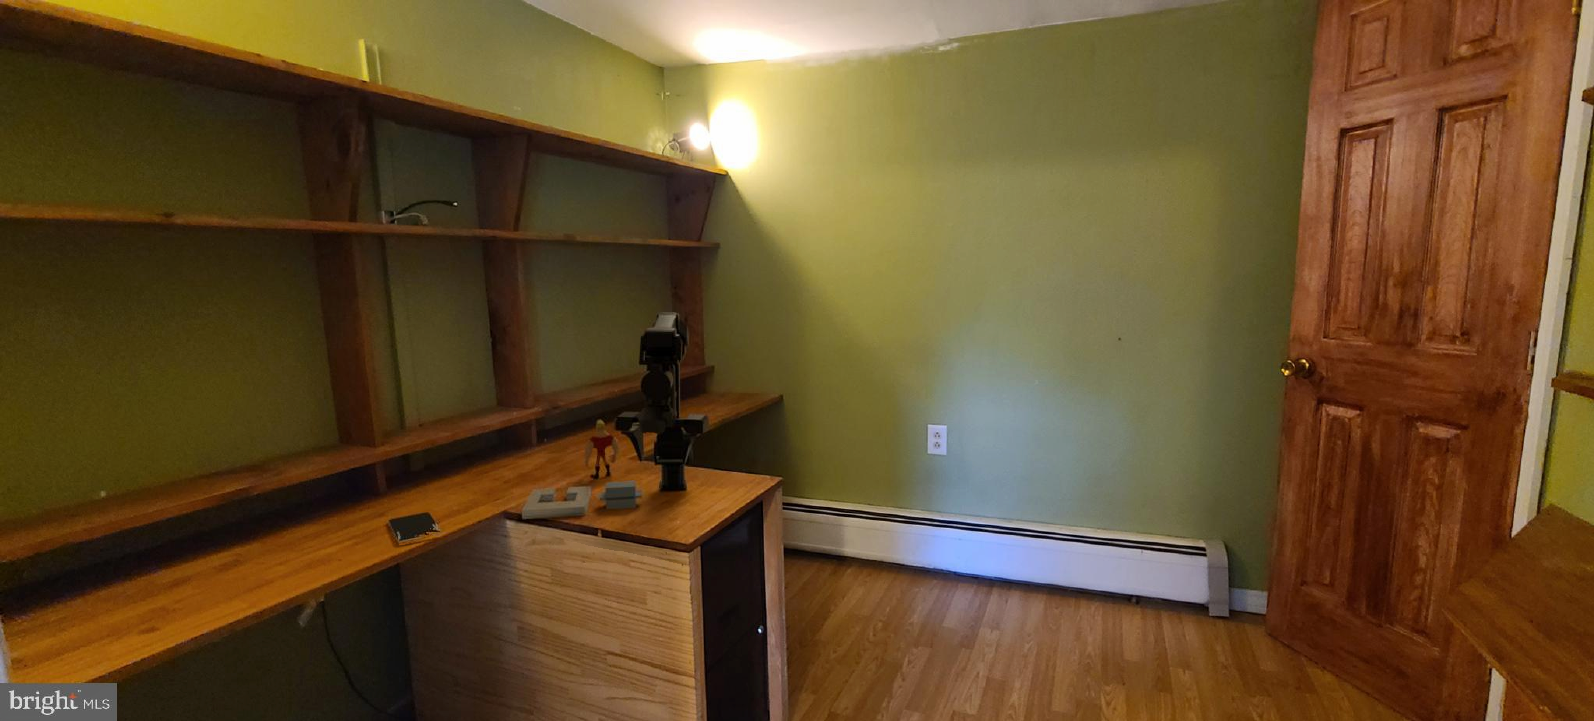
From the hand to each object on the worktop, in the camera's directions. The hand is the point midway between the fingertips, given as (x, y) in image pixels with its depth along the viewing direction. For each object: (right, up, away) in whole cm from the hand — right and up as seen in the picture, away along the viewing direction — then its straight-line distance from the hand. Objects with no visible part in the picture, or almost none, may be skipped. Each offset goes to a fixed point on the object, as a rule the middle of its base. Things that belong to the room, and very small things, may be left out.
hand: (662, 462), depth 141 cm
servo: (-12, -12, +14) cm, 22 cm away
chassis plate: (-26, -12, +12) cm, 31 cm away
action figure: (-23, -9, +34) cm, 42 cm away
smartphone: (-51, -14, -3) cm, 53 cm away
